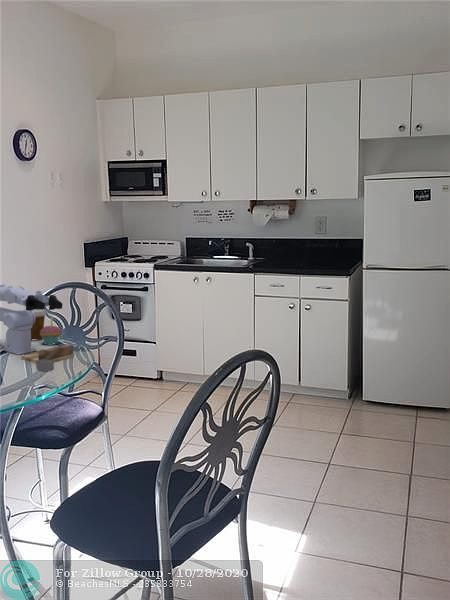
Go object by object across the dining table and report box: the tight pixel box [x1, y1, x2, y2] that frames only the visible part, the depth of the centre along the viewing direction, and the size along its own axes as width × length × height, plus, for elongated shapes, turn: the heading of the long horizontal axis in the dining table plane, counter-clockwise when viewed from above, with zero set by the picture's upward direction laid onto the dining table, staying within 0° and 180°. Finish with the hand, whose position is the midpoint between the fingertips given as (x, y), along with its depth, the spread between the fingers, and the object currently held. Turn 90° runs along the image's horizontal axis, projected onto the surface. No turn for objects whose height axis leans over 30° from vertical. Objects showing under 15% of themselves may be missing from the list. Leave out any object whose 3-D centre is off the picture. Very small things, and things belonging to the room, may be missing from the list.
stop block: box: [35, 359, 55, 373], centre depth 212 cm, size 5×4×3 cm
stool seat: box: [21, 351, 75, 364], centre depth 226 cm, size 12×14×1 cm
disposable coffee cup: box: [23, 308, 47, 341], centre depth 252 cm, size 10×10×12 cm
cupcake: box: [40, 314, 62, 345], centre depth 246 cm, size 9×8×12 cm
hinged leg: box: [37, 343, 74, 360], centre depth 223 cm, size 14×3×4 cm, turn 142°
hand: (52, 306), depth 219 cm, fingers open, 7 cm apart
